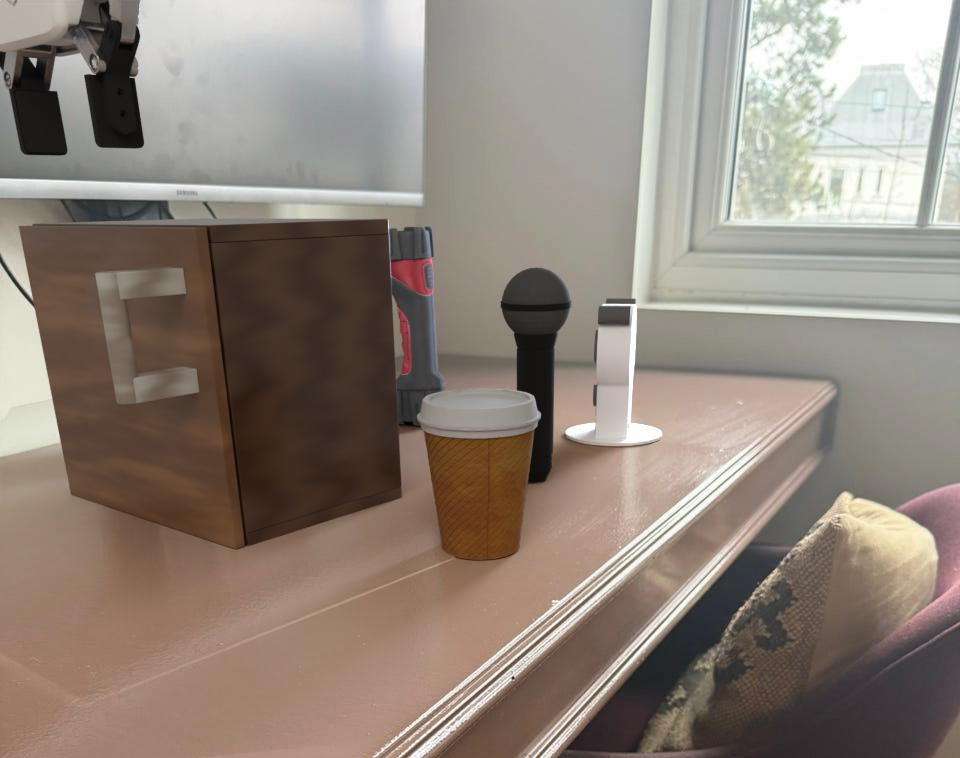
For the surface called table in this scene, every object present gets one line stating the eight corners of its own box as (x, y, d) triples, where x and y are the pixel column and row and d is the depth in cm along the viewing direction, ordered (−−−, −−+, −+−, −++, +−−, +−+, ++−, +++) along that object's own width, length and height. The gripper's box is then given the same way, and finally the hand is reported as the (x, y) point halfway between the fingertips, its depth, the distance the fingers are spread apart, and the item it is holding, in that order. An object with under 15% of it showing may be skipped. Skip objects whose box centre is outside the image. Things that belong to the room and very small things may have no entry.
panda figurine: (572, 422, 122) (575, 296, 116) (663, 425, 120) (671, 297, 113) (559, 444, 111) (562, 306, 105) (660, 447, 109) (668, 307, 103)
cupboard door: (166, 571, 74) (113, 230, 64) (5, 509, 90) (-58, 228, 80) (245, 546, 79) (206, 227, 69) (80, 492, 95) (29, 225, 85)
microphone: (574, 486, 95) (580, 268, 87) (508, 490, 94) (507, 270, 86) (558, 469, 101) (562, 264, 92) (496, 473, 100) (494, 266, 92)
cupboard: (248, 547, 80) (209, 225, 69) (82, 492, 95) (31, 223, 85) (402, 498, 92) (388, 218, 82) (233, 457, 108) (204, 218, 98)
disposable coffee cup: (444, 525, 84) (439, 385, 79) (551, 534, 82) (553, 389, 77) (405, 561, 76) (397, 407, 71) (522, 572, 73) (523, 413, 68)
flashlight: (374, 418, 126) (363, 226, 117) (432, 413, 128) (425, 225, 119) (388, 430, 119) (377, 228, 110) (448, 424, 122) (443, 226, 112)
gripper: (-99, -149, 61) (-33, 156, 68) (37, -226, 50) (98, 143, 57) (18, -123, 66) (68, 158, 73) (163, -189, 56) (204, 146, 63)
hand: (81, 151), depth 65 cm, fingers open, 9 cm apart
